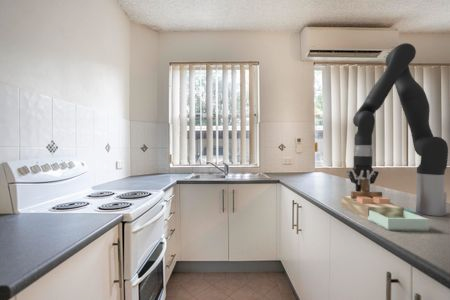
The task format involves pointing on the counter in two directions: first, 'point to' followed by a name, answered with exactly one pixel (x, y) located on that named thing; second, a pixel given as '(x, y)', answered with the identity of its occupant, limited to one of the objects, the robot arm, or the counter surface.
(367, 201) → the tile
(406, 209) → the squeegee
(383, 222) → the box
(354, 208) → the wooden board
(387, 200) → the tile
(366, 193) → the wooden t-shaped block
